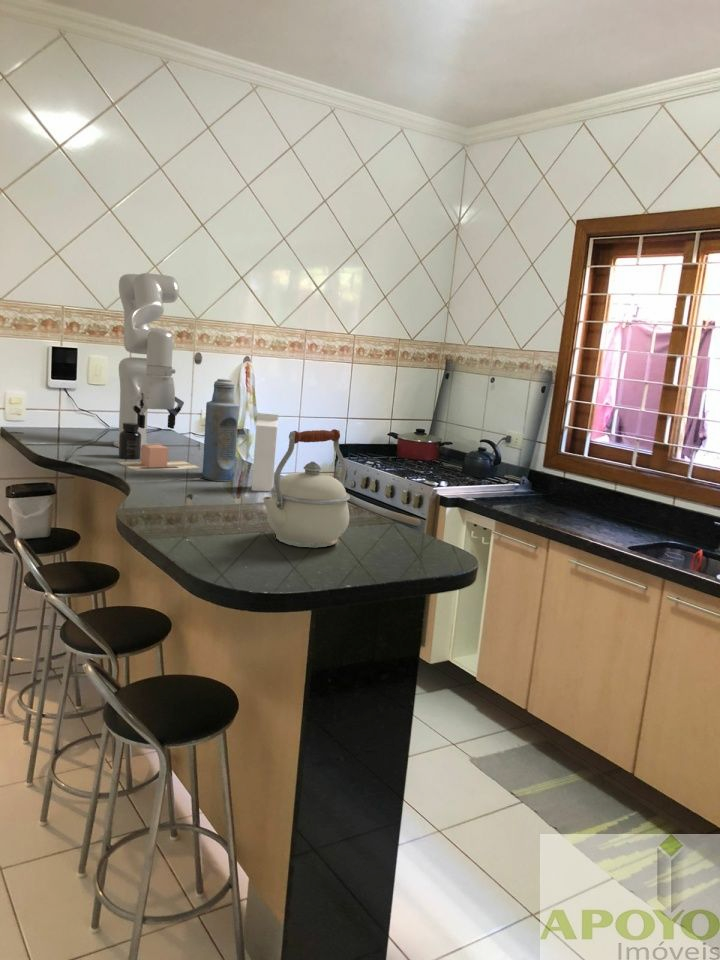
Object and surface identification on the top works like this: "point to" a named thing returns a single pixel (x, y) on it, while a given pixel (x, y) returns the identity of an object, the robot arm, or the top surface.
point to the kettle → (309, 497)
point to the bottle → (221, 433)
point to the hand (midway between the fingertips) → (156, 427)
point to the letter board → (170, 465)
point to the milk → (264, 452)
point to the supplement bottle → (130, 442)
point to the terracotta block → (154, 455)
